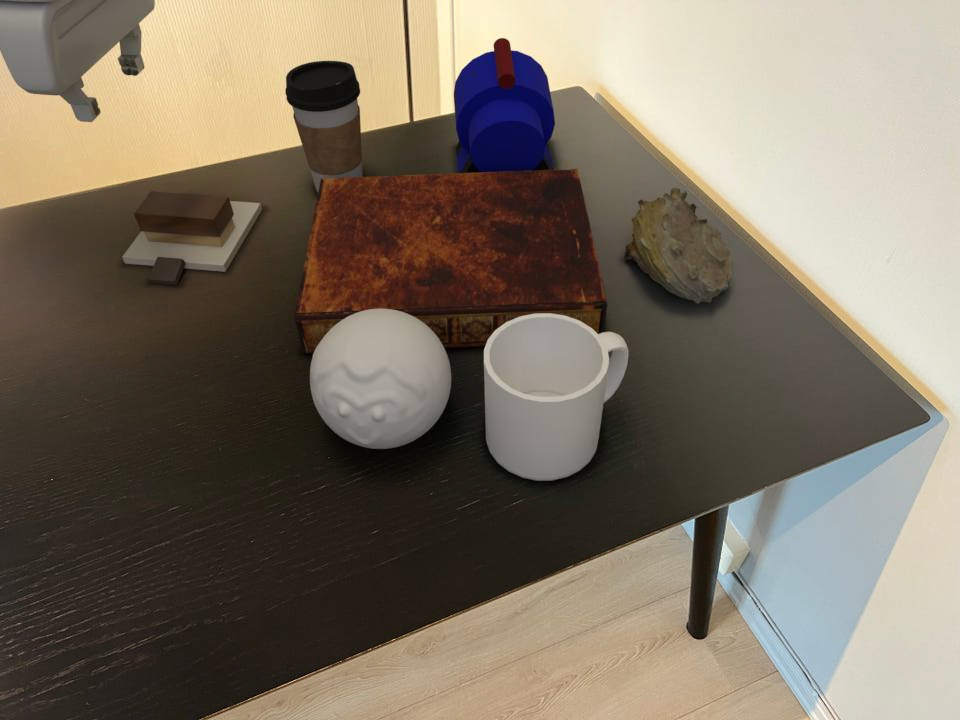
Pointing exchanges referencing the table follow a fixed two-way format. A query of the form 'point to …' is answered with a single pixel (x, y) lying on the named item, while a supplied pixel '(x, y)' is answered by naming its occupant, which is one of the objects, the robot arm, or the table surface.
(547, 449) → the mug
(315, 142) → the coffee cup
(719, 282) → the seashell
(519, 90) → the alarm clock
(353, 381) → the decorative ball
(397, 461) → the table surface
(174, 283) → the dark brown square block
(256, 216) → the tile
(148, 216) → the brown rectangular block
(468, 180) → the book
